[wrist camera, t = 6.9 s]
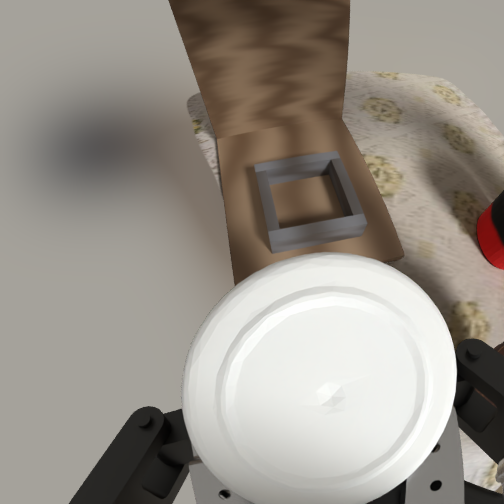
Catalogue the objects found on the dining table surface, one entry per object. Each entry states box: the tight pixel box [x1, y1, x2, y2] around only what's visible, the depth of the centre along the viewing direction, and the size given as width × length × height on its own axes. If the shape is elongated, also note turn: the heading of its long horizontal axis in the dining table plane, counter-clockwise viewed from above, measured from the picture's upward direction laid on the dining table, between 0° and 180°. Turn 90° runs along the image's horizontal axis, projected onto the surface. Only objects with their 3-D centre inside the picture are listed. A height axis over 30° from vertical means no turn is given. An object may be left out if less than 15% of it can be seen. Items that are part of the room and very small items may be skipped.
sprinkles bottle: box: [181, 252, 457, 504], centre depth 9 cm, size 5×5×14 cm
